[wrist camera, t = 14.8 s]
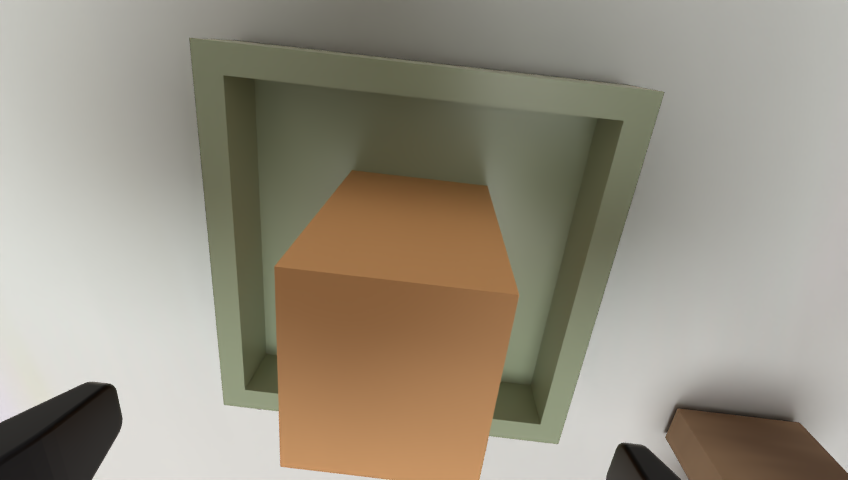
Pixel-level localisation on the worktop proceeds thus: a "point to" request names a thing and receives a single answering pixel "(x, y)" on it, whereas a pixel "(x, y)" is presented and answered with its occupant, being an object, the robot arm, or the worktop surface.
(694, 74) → the worktop surface
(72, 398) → the robot arm
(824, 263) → the worktop surface
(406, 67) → the tray
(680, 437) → the wood grain block
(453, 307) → the orange brown block
